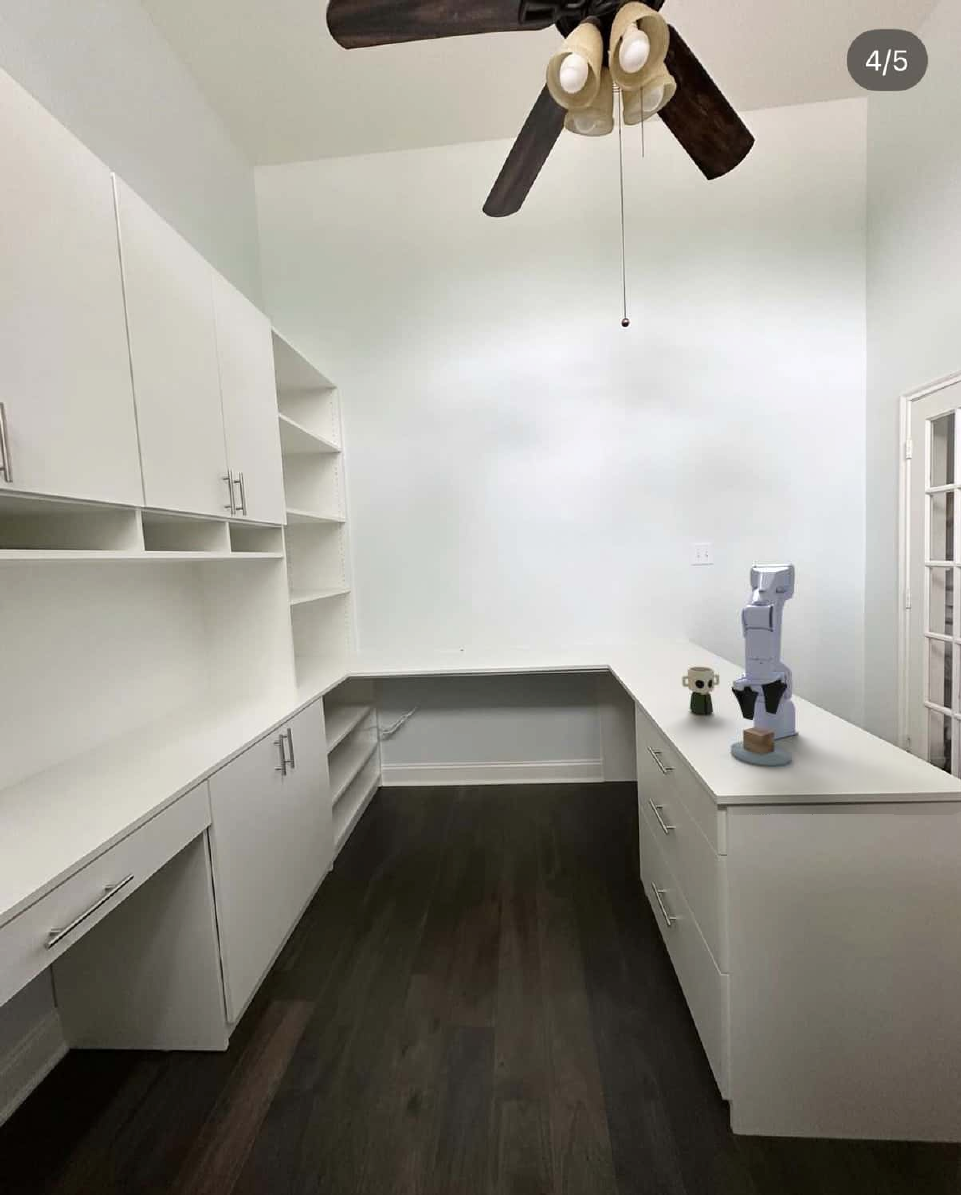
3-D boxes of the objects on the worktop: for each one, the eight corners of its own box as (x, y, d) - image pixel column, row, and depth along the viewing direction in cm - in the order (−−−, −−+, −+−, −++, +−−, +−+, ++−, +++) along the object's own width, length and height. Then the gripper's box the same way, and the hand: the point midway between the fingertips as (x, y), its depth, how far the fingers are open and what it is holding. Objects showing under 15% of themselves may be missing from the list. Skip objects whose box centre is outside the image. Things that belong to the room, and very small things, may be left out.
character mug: (687, 717, 144) (687, 672, 143) (678, 709, 151) (677, 667, 150) (725, 715, 144) (725, 670, 143) (714, 707, 151) (713, 665, 150)
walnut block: (756, 744, 119) (756, 726, 118) (774, 751, 115) (774, 732, 114) (743, 748, 117) (743, 730, 117) (761, 755, 113) (760, 736, 113)
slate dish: (756, 742, 123) (756, 737, 123) (803, 759, 112) (803, 754, 112) (719, 751, 119) (719, 746, 119) (763, 770, 108) (763, 765, 108)
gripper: (765, 651, 120) (765, 706, 121) (721, 658, 115) (722, 716, 116) (793, 655, 114) (793, 714, 115) (748, 664, 108) (749, 725, 109)
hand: (759, 715), depth 115 cm, fingers open, 7 cm apart
